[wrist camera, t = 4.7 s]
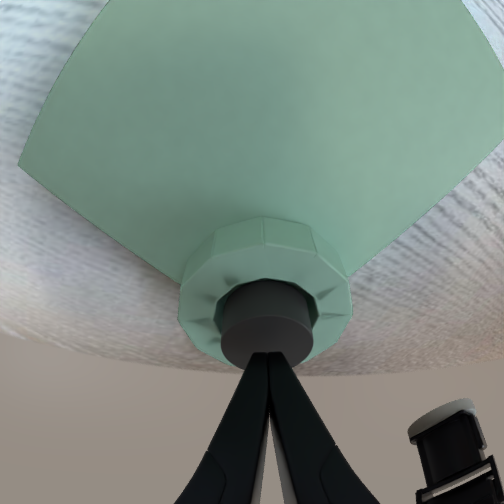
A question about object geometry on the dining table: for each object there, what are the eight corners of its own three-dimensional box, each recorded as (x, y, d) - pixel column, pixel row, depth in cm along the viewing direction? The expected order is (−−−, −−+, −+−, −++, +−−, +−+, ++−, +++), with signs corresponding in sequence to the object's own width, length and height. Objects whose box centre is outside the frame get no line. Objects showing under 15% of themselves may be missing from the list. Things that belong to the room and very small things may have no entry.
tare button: (266, 349, 12) (268, 382, 10) (206, 313, 11) (201, 349, 9) (323, 309, 11) (332, 343, 9) (264, 264, 10) (266, 299, 8)
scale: (265, 332, 15) (267, 384, 13) (29, 169, 10) (-15, 203, 8) (511, 123, 9) (559, 148, 6) (286, -128, 4) (297, -170, 2)
